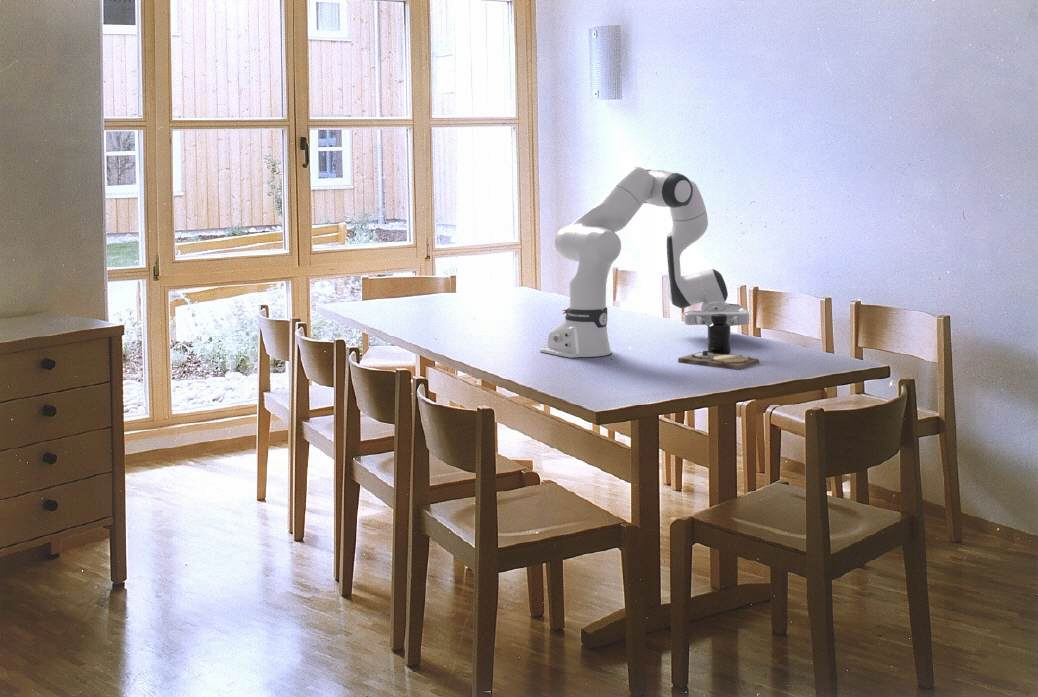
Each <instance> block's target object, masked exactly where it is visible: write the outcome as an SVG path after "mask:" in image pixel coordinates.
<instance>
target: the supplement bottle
mask: <svg viewBox="0 0 1038 697" xmlns="http://www.w3.org/2000/svg"><path fill="white" fill-rule="evenodd" d="M711 321H712V323H711V324H709V326H707V351H708V353H714V354H721V355H724V354H727V355H731V350H732V349H731V347H732V346H731V345H732V344H731V334H732V333H731V326H730V325H729V324H728V323H726V321H727V315H726V314H713V315H711Z"/></svg>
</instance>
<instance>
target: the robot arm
mask: <svg viewBox="0 0 1038 697" xmlns="http://www.w3.org/2000/svg"><path fill="white" fill-rule="evenodd" d="M644 204H649V205H653V206H656V207H663V208H664V207H665V208H666V207H667V208H669V210H670V215H671V219H672V227H671V228H672V229H671V231H670V232H669V233H668V234H667V237H666V256H667V267H668V271H667V272H668V283H669V284H668V296H669V299H670V300H669V301H670V302H671V304H672V305H673V306H675V307H677V308H679V309H686V308H688V307H691V306H692V305H696V304H701V306H700V310H688V311H686V312H685V313H684V314H683V315H682V316H683V318H684V324H685V325H687V326H690V325H691V326H707V327H708V326H709V324H711V323H712V321H711V315H713V314H726V315H727V321H726V323H728V324H729V325H730V327H734V326H742V325H744V326H745V325H749V324H750V313H749V311H748V309H747V308H744V306H743V304H738V303H737V304H736V303H728V302H726V301H727V299H728V297H729V294H728V288H727V284H726V281H725V278H724V277H723V275H722V273H720V272H719V271H718V270H716V269H715V268H712V269H707V270H704V271H700V272H696V273H693V274H690V275H687V276H682V272H681V271H682V269H681V255H682V253H683V252H684V251H685V250H686V249H687V248H689V247H690V246H691V245H693V244H695V242H697V241H699V239H701V238H702V236H704V234H705V233H706V231H707V229H708V226H709V218H708V214H707V209H706V205H705V202H704V199H703V196H702V193H701V192H700V189H699V187H698V185H697V183H695V182H694V180H693V181H692V180H690V179H689V178H688V177H687V176H685V175H684V174H681V173H679V172H671V171H667V170H661V169H645V168H644V167H641V166H632V167H630V168H629V169H628V170H626V171H625V172H623V174H621V176H619V177H618V178H617V179H616V180H615V182H614V183H613V184H612V185H611V186H610V188H608V190H607V191H606V192H605V193H604V194H603V196H602V197H601V198H600V199H599V200H598V202H597V203H596V204H594V205H593V207H592V208H590V209H589V210H588V211H587V212H585V213H584V214H582V215H581V216H580V217H579V218H577V219H576V220H575V221H573V222H572V223H570V224H569V225H567V226H564V227H563V228H561V229H559V231H558V232H557V233H556V236H555V237H554V238H555V239H554V247H555V250H556V251H557V253H558V254H559V255H560V256H562V257H564V258H566V259H568V260H570V261H574V262H578V266H577V272H576V274H575V275H574V276H573V278H572V279H571V280H570V282H569V307H568V308H567V309H563V310H562V314H563V315H565V314H566V315H565V317H564V318H565V319H564V320H562V321H561V322H560V323H559V324H558V325H556V326H555V327H554V328H553V329H551V330H550V331H549V334H548V337H547V345H544V346H542V347H540V349H539V350H540V351H539V352H541V353H545V354H550V355H553V356H554V355H555V356H558V357H559V356H560V357H566V358H592V357H593V358H595V357H603V356H608V355H610V354H612V350H611V346H610V342H609V337H608V327H607V325H608V307H607V283H608V277H609V273H610V270H611V267H612V265H613V263H614V262H615V261H616V260H617V259H618V257H619V256H620V253H621V251H622V250H621V249H622V241H621V239H620V237H619V235H618V234H617V232H619V231H621V230H623V229H624V228H626V226H627V225H628V224H629V223H630V221H631V220H632V218H633V217H634V216H635V215H636V214H637V212H638V211H639V210H640V208H641V207H642V206H643V205H644Z"/></svg>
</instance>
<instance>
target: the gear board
mask: <svg viewBox="0 0 1038 697" xmlns="http://www.w3.org/2000/svg"><path fill="white" fill-rule="evenodd" d="M677 362H678V363H684V364H692V365H700V366H705V367H706V366H707V367H713V368H722V369H730V370H737V371H738V370H741V369H744V368H748V367H752V366H754V365H757V364H759V363H760V359H759V358H752V357H751V356H745V355H742V354H729V355H727V354H724V355H721V354H714V353H708V350H707V349H706V350H705V349H704V350H702V351H699V352H695V353H691V354H688V355H685V356H681V357H678V358H677Z"/></svg>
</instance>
